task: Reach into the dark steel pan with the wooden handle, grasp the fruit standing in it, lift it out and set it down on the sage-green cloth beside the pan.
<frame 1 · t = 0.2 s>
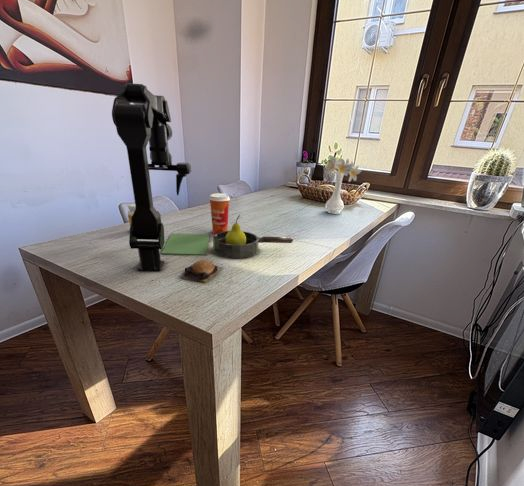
hand: (164, 194, 107), 15 cm above the table, tool pointing down, fingers open, 9 cm apart
supplement bottle: (138, 231, 118), on the table
pan handle: (274, 239, 105), point 4 cm above the table
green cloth: (187, 244, 109), on the table
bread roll: (201, 273, 90), on the table
paper cup: (220, 233, 122), on the table
pan: (235, 250, 106), on the table
flower vase: (334, 213, 159), on the table
fruit: (235, 250, 106), resting on pan
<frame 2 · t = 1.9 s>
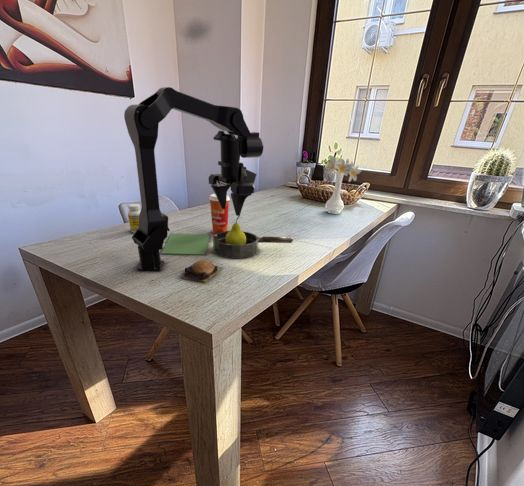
hand: (230, 212, 100), 13 cm above the table, tool pointing down, fingers open, 9 cm apart
nothing on the table moved.
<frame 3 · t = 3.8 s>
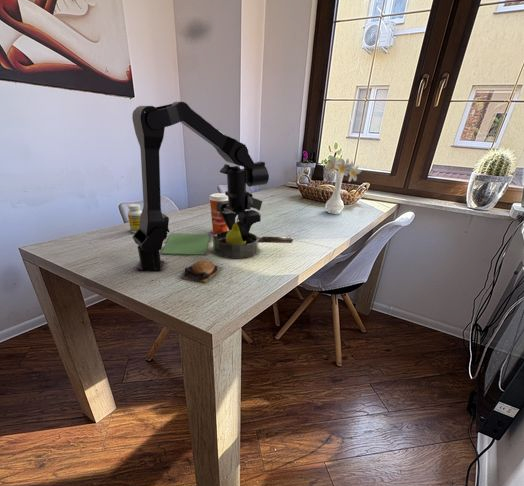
hand: (238, 237, 104), 4 cm above the table, tool pointing down, fingers closed on fruit, 7 cm apart
fruit: (235, 249, 106), resting on pan, touching gripper
everything else where it was.
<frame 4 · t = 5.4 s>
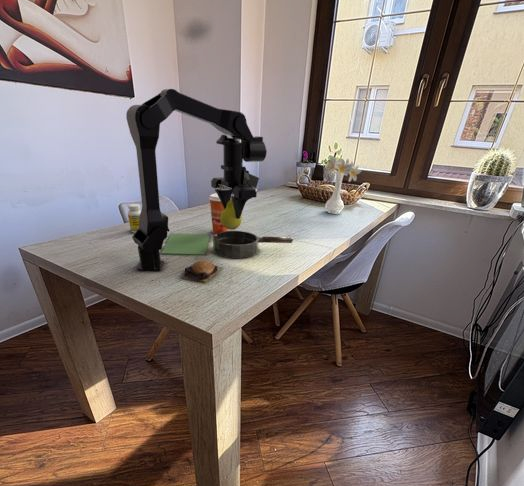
hand: (232, 215, 100), 12 cm above the table, tool pointing down, fingers closed on fruit, 7 cm apart
fruit: (230, 230, 102), point 7 cm above the table, touching gripper
everything else where it was.
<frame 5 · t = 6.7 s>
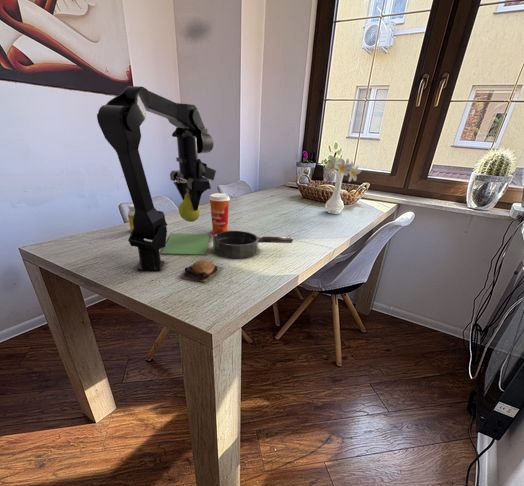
hand: (191, 207, 102), 13 cm above the table, tool pointing down, fingers closed on fruit, 7 cm apart
fruit: (190, 222, 103), point 8 cm above the table, touching gripper
everything else where it was.
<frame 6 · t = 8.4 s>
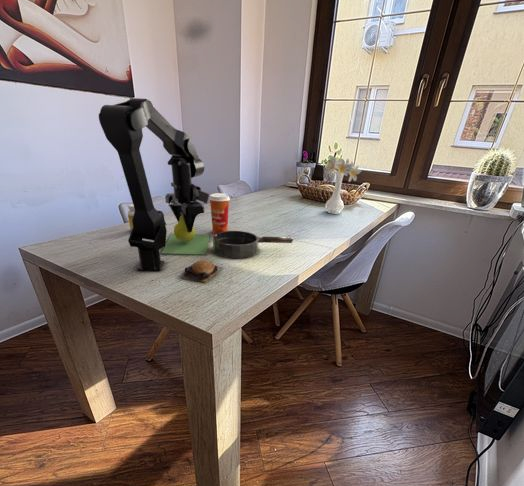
hand: (186, 229, 106), 5 cm above the table, tool pointing down, fingers closed on fruit, 7 cm apart
fruit: (184, 242, 108), point 1 cm above the table, touching gripper
everything else where it was.
when the fingers open (5 cm above the table, at t = 9.9 s): fruit stays where it is, resting on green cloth.
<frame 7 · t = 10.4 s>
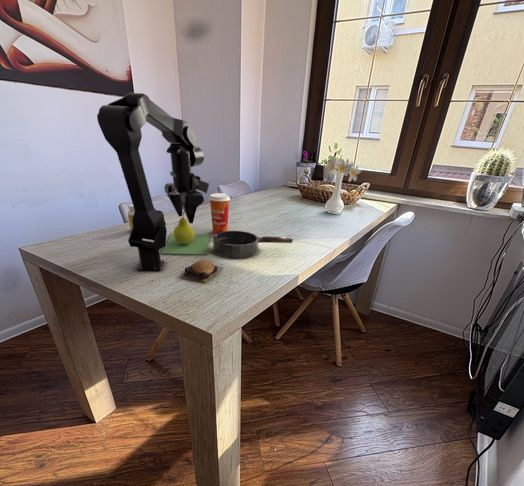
hand: (185, 219, 104), 9 cm above the table, tool pointing down, fingers open, 9 cm apart
fruit: (185, 244, 108), resting on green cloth
everything else where it was.
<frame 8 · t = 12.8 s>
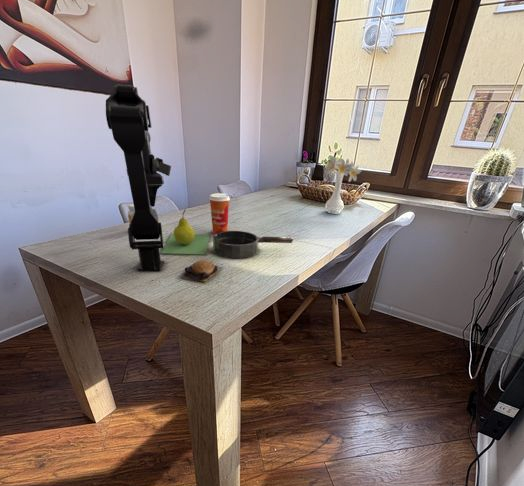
hand: (148, 203, 102), 13 cm above the table, tool pointing down, fingers open, 9 cm apart
nothing on the table moved.
at the end: fruit inside the target area on the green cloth (1.2 cm from its centre), point 0.2 cm above the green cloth's base; fruit touching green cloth; the gripper is holding nothing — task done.
